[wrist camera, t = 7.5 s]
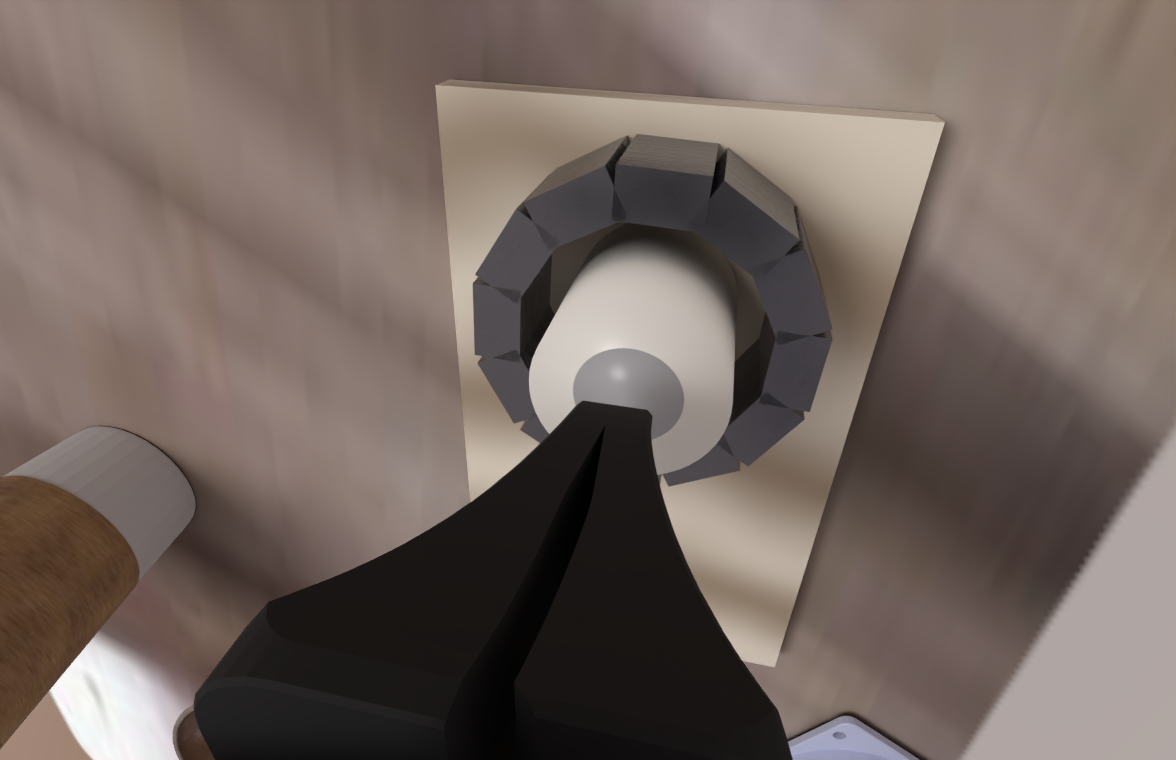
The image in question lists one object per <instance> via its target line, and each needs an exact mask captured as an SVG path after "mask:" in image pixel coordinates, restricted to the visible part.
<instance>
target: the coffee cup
mask: <svg viewBox="0 0 1176 760" xmlns="http://www.w3.org/2000/svg"><path fill="white" fill-rule="evenodd" d="M195 508H196V505H195V497H194V494H193V491H192V488H191V486H190V484H189V482H188V480H187V479H186V477H185V476H184V475H183V473H182V472H181V470H180V469H179V468H178V467H177V466H176V465H175V464H174V463H173V461H172V460H171V459H170V458H169V457H167V456H166V455H165V454H164V453H163V452H161V451H160V450H159V449H158V448H156V447H155V446H153V445H152V444H150V443H149V442H147V441H146V440H144V439H142V438H140V437H138V436H136V435H134V434H132V433H129V432H126V431H124V430H121V429H117V428H112V427H102V426H97V427H91V428H86V429H84V430H82V431H80V432H78V433H76V434H74V435H72V436H71V437H69V438H67V439H66V440H64V441H62V442H60V443H59V444H57V445H55V446H54V447H52V448H50V449H49V450H47V451H45V452H43V453H42V454H40V455H38V456H37V457H35V458H33V459H32V460H30V461H28V462H27V463H25V464H23V465H22V466H20V467H18V468H16V469H15V470H13V471H11V472H10V473H8V474H6V475H5V476H3V477H0V749H1V748H2V746H3V745H4V744H5V743H6V742H7V740H8V739H9V738H10V737H11V736H12V734H13V733H14V732H15V731H16V730H17V728H18V727H19V726H20V725H21V724H22V722H23V721H24V720H25V719H26V718H27V716H28V715H29V714H30V713H31V712H32V710H33V709H34V708H35V707H36V706H37V704H38V703H39V702H40V701H41V700H42V698H43V697H44V696H45V695H46V694H47V692H48V691H49V690H50V689H51V687H52V686H53V685H54V684H55V683H56V681H57V680H58V679H59V678H60V677H61V675H62V674H63V673H64V672H65V671H66V669H67V668H68V667H69V666H70V665H71V663H72V662H73V661H74V660H75V659H76V657H77V656H78V655H79V654H80V653H81V651H82V650H83V649H84V648H85V647H86V645H87V644H88V643H89V642H90V641H91V639H92V638H93V637H94V636H95V635H96V633H97V632H98V631H99V630H100V628H101V627H102V626H103V625H104V624H105V622H106V621H107V620H108V619H109V618H110V616H111V615H112V614H113V613H114V612H115V610H116V609H117V608H118V607H119V606H120V604H121V603H122V602H123V601H124V600H125V598H126V597H127V596H128V595H129V594H130V592H131V591H132V590H133V589H134V588H135V586H136V584H137V583H138V581H139V580H140V579H141V578H142V577H143V575H144V574H145V573H146V572H147V571H148V570H149V569H150V567H151V566H152V565H153V564H154V563H155V562H156V561H157V559H158V558H159V557H160V556H161V555H162V554H163V553H164V551H165V550H166V549H167V548H168V547H169V546H170V545H171V543H172V542H173V541H174V540H175V539H176V538H177V537H178V535H179V534H180V533H181V532H182V531H183V530H184V528H185V527H186V526H187V525H188V523H189V522H190V521H191V519H192V518H193V516H194V512H195Z"/></svg>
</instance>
